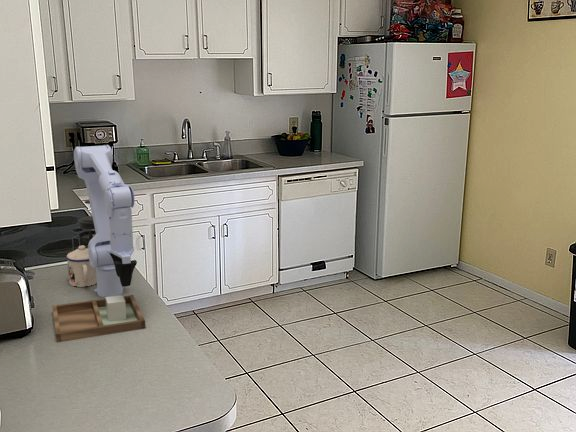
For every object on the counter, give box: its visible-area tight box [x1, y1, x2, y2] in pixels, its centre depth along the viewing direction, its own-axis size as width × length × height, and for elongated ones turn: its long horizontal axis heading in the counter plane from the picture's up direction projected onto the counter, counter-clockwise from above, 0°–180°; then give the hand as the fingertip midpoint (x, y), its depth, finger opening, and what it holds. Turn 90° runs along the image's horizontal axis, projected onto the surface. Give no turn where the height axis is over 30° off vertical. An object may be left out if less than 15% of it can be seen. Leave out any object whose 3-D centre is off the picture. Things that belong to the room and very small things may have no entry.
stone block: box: [105, 294, 126, 321], centre depth 154 cm, size 4×4×5 cm
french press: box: [71, 199, 96, 251], centre depth 189 cm, size 12×9×23 cm
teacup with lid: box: [65, 244, 97, 288], centre depth 178 cm, size 12×9×12 cm
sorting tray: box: [51, 294, 147, 343], centre depth 153 cm, size 18×21×3 cm
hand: (123, 280), depth 157 cm, fingers open, 7 cm apart
